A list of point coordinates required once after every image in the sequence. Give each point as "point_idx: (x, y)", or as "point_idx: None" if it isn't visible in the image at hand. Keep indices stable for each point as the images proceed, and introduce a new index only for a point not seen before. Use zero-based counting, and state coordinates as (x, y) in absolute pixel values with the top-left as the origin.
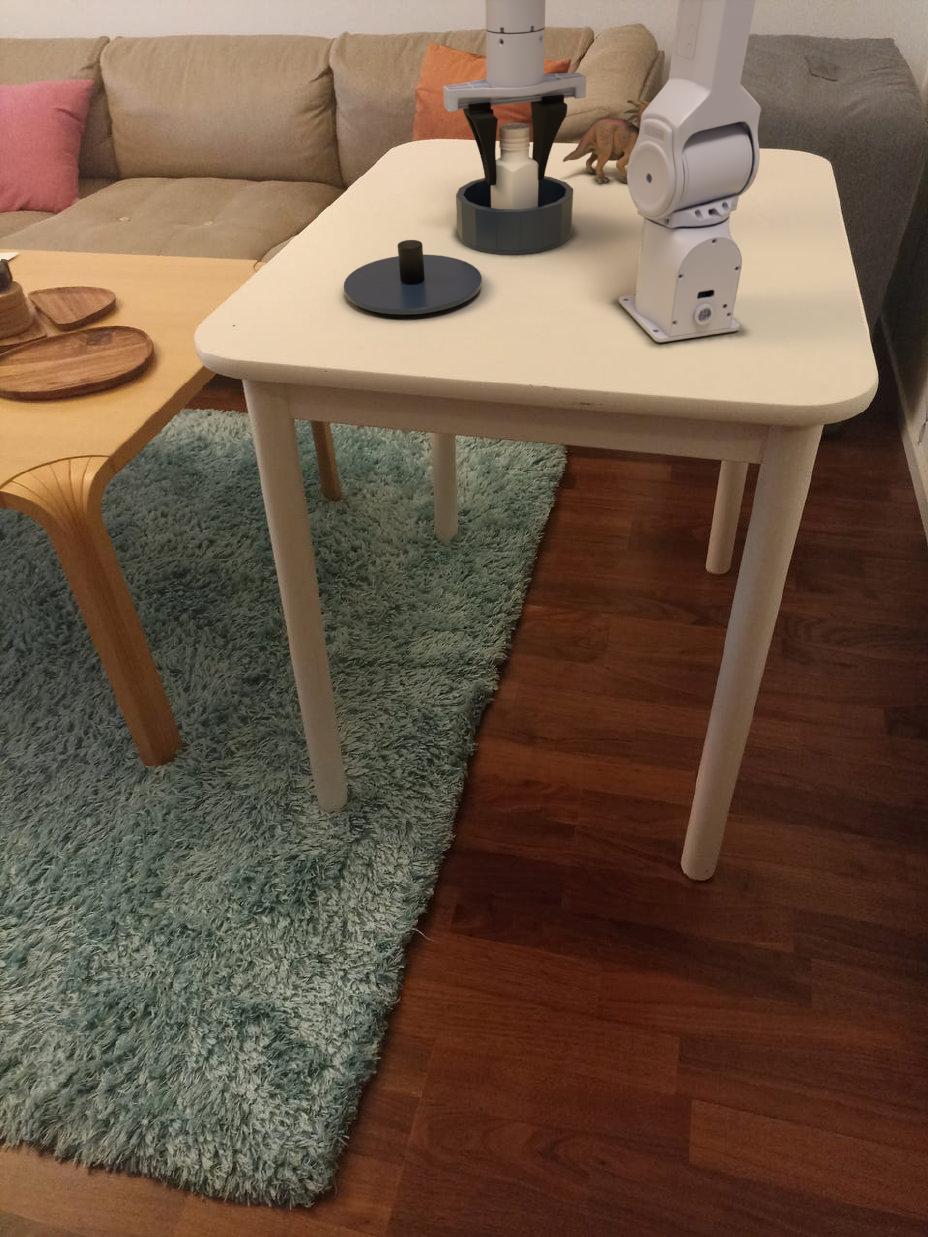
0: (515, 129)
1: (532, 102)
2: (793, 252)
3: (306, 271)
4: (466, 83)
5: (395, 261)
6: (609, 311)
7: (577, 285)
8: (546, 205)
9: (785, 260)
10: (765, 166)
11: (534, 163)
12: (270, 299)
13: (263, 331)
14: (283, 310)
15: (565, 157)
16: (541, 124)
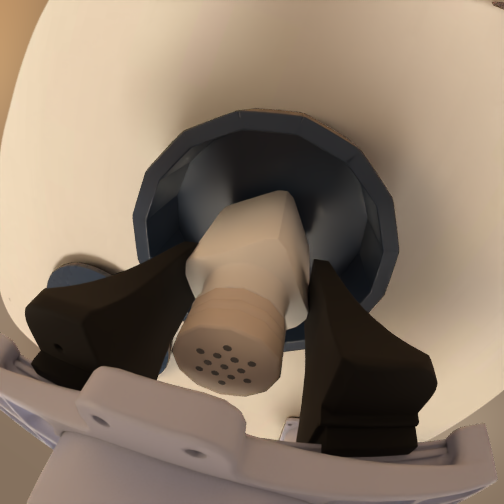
0: (216, 387)
1: (337, 375)
2: (485, 386)
3: (16, 226)
4: (3, 398)
5: (79, 279)
6: (273, 419)
7: (272, 385)
8: (284, 345)
9: (466, 396)
10: None
11: (291, 327)
12: (11, 271)
13: None
14: (24, 295)
15: (500, 4)
16: (305, 405)
